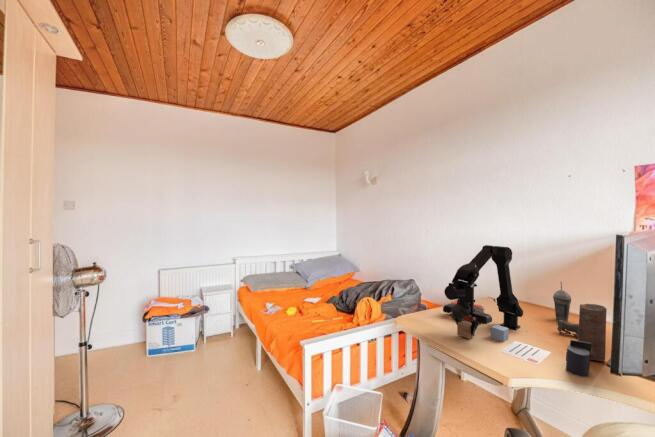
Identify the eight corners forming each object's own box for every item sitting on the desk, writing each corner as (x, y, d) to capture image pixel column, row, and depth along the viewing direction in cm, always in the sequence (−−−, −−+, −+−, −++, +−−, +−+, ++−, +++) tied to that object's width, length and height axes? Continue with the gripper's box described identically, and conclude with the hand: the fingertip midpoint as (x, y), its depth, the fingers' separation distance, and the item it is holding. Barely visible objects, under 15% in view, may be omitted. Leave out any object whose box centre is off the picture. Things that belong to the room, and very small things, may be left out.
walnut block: (463, 331, 120) (463, 320, 120) (474, 335, 116) (474, 324, 116) (457, 334, 117) (457, 323, 117) (468, 338, 113) (468, 326, 113)
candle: (611, 365, 95) (612, 309, 95) (588, 363, 97) (588, 307, 97) (594, 354, 103) (594, 302, 103) (572, 353, 104) (573, 301, 104)
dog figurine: (556, 334, 122) (556, 317, 122) (558, 330, 126) (557, 314, 126) (593, 343, 113) (593, 325, 113) (593, 339, 117) (593, 322, 117)
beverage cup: (556, 321, 137) (556, 282, 137) (550, 317, 144) (550, 280, 144) (574, 324, 134) (574, 284, 134) (567, 319, 141) (567, 281, 141)
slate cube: (495, 335, 119) (495, 324, 119) (508, 339, 115) (508, 328, 115) (490, 338, 116) (490, 327, 116) (503, 342, 112) (503, 330, 112)
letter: (515, 341, 113) (515, 340, 113) (551, 353, 104) (551, 352, 104) (499, 351, 104) (499, 351, 104) (537, 365, 94) (537, 364, 94)
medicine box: (484, 319, 139) (484, 304, 139) (483, 324, 132) (483, 308, 133) (452, 313, 148) (452, 299, 148) (450, 317, 141) (450, 302, 141)
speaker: (566, 363, 95) (568, 336, 94) (589, 371, 91) (591, 342, 90) (563, 373, 90) (565, 344, 89) (587, 382, 86) (590, 352, 85)
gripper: (436, 294, 119) (435, 329, 119) (480, 306, 104) (479, 346, 104) (449, 291, 126) (449, 324, 126) (492, 301, 111) (492, 339, 111)
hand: (466, 333), depth 116 cm, fingers closed on walnut block, 5 cm apart
